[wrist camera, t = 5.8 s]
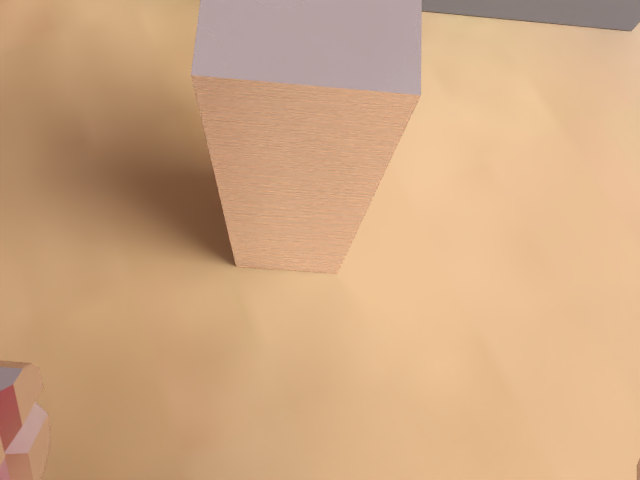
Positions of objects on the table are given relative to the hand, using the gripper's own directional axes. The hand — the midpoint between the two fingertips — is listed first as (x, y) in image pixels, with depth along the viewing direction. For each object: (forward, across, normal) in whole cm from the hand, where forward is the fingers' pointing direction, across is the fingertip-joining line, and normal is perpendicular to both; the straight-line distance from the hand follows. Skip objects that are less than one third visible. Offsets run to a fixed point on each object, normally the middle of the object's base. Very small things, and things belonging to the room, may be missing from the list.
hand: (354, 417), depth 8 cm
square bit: (+13, -1, -4) cm, 13 cm away
